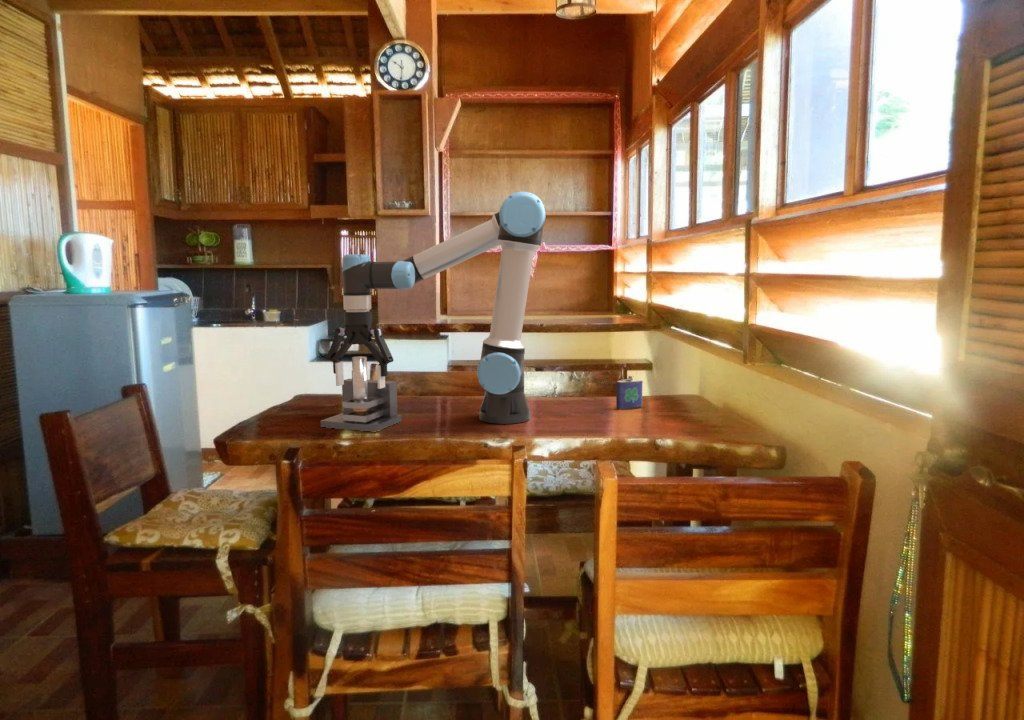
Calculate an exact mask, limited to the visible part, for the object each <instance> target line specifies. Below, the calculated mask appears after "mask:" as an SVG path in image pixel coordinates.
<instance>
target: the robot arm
mask: <svg viewBox="0 0 1024 720" xmlns="http://www.w3.org/2000/svg"><path fill="white" fill-rule="evenodd" d="M546 221H547V213H546V208H545V205H544V203H543V202H542V200H541V199H540V197H539V196H537V195H536V194H534V193H532V192H529V191H516V192H514V193H511V194H510V195H508V196H507V197H506V198H505V199H504V200H503V201H502V203H501V205H500V208H499V211H498V212H495V213H494V214H492V218H491V219H489V220H488V221H485V222H482V223H481V224H479V225H477V226H474V227H472V228H470V229H468V230H466V231H464V232H461V233H460V234H457V235H455V236H453V237H450V238H448V239H446V240H444V241H442V242H439V243H438V244H436V245H433V246H431V247H429V248H427V249H425V250H423V251H421V252H418V253H415V254H413V255H412V256H410V257H407V258H405V259H403V260H398V261H397V260H396V261H394V260H392V261H373V260H371V256H370V255H369V254H361V253H359V254H356V253H355V254H345V255H343V257H342V262H341V263H342V265H341V266H342V267H341V268H342V269H341V273H342V274H341V275H342V289H343V291H342V296H343V297H342V298H343V310H345V312H344V313H343V320H344V321H343V322H344V323H343V324H344V325H345V327H342V326H341V327H335V329H334V336H333V340H332V343H331V345H330V347H329V349H328V352H327V355H326V360H327V361H330V362H332V367H333V368H332V370H333V374H335V386H336V387H338V386H339V387H340V386H342V385H344V380H345V378H344V376H345V375H344V361H342V359H343V358H344V356H345V355H346V354H347V352H348V351H349V349H350V348H351V346H352V345H359V346H365V347H366V348H367V349H368V350H369V352H370V353H371V355H372V356H373V357H374V359H376V361H377V363H378V364H377V365H376V370H377V371H376V372H377V376H376V377H377V379H376V380H378V389H381V388H384V387H385V381H386V376H388V365H389V364H391V363H393V362H394V357H393V355H392V353H391V351H390V348H389V347H388V344H387V343H386V340H385V338H384V334H383V329H382V327H381V328H374V329H373V328H372V324H373V314H372V311H370V310H371V309H372V290H400V291H401V290H410V289H412V288H414V285H416V284H417V283H420V282H421V281H424V280H426V279H428V278H430V277H432V276H434V275H437V274H439V273H441V272H443V271H446V270H448V269H450V268H452V267H454V266H457V265H458V264H461V263H463V262H465V261H468V260H469V259H472V258H474V257H476V256H478V255H480V254H482V253H485V252H488V251H490V250H491V249H494V248H496V247H499V246H501V253H500V254H501V255H500V259H499V261H500V263H499V267H498V268H499V269H498V274H497V283H496V290H495V294H494V296H495V297H494V302H493V303H494V304H493V309H492V317H491V323H490V331H489V336H488V337H486V338H484V339H483V341H482V348H481V353H480V361H479V362H478V365H477V368H476V375H477V380H478V382H479V384H480V386H481V388H483V389H484V395H483V398H482V402H481V406H480V409H479V415H478V416H479V417H478V418H479V420H480V421H482V422H485V423H488V424H498V425H499V424H502V425H503V424H504V425H505V424H506V425H509V424H518V423H519V424H520V423H524V422H527V421H529V420H530V419H531V409H530V406H529V403H528V400H527V398H526V394H525V353H526V346H525V344H524V343H523V342H522V340H521V339H522V333H523V327H524V326H523V325H524V319H525V314H526V307H527V300H528V293H529V286H530V279H531V275H532V273H531V272H532V269H533V268H532V267H533V260H534V254H535V252H536V251H538V250H539V249H540V248H541V245H542V239H543V233H544V227H545V225H546ZM344 335H345V337H346V338H345V339H344ZM372 336H373V337H374V339H373V338H372ZM343 339H344V340H343ZM342 341H343V343H342ZM341 343H342V345H341ZM376 344H377V345H376Z"/></svg>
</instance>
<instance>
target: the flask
mask: <svg viewBox="0 0 1024 720" xmlns="http://www.w3.org/2000/svg"><path fill="white" fill-rule="evenodd" d="M633 378H634V376H633V375H632V374H631V375H630V374H629V375H628V377H627V378H626V379H625V378H624V379H620V380H618V381H616V386H615V387H616V389H615V390H616V391H615V392H616V394H615V395H616V398H615V399H616V405H615V406H616V407H615V408H616V410H617V411H625V410H634V409H635V410H636V409H637V410H638V409H642V408H643V382H644V381H643V379H633Z"/></svg>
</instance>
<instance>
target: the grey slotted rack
mask: <svg viewBox="0 0 1024 720" xmlns="http://www.w3.org/2000/svg"><path fill="white" fill-rule="evenodd" d="M367 381H368V402H366V403H357V402H354V396H353V372H352V371H351V378H347V379H344V385H341V392H342V393H341V395H342V402H341V404H342V405H341V406H342V412H341V413H339V414H336V415H333V416H329V417H326V418H324V419H321V420H320V428H321V427H326V428H325V429H331V428H335V429H334V430H342V429H346V430H345V431H352V430H361V431H360V432H363V431H378V430H380V429H383V428H385V427H388V426H390V427H392V426H391V425H393V424H395V425H397V424H396V423H398V424H400V423H402V422H401V421H402V420H403V419H402V414H398V386H397V385H398V382H397V381H394V380H385V387H384V388H381V389H378V380H377V379H367ZM368 408H369V414H368V415H366V416H360V415H354V409H368ZM355 421H357V422H355ZM399 422H400V423H399ZM393 426H394V425H393ZM388 428H389V427H388ZM383 430H384V429H383Z"/></svg>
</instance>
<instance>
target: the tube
mask: <svg viewBox="0 0 1024 720" xmlns="http://www.w3.org/2000/svg"><path fill="white" fill-rule="evenodd" d="M367 360H368V357H367V356H361V355H360V356H353V357H351V365H352V366H351V367H352V370H351V373H352V372H353V396H354V402H357V403H366V402H368V381H367V380H368V361H367ZM368 414H369V408H368V409H354V415H360V416H366V415H368ZM355 422H357V421H355Z"/></svg>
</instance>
